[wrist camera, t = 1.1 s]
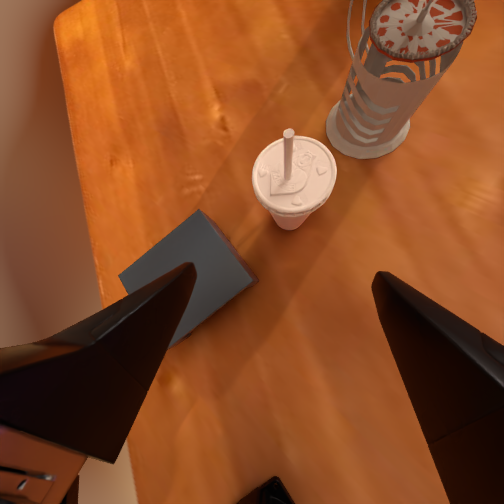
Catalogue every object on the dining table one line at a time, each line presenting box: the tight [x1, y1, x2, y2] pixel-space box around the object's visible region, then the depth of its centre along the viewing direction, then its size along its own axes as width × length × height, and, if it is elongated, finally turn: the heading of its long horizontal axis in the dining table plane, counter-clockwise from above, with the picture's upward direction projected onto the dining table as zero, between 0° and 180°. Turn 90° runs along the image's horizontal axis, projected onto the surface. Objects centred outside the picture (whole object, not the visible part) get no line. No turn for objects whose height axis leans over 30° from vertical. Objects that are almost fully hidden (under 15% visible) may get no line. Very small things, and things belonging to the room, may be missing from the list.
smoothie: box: [252, 129, 337, 230], centre depth 17 cm, size 6×6×14 cm
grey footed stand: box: [118, 209, 259, 350], centre depth 22 cm, size 10×12×4 cm
